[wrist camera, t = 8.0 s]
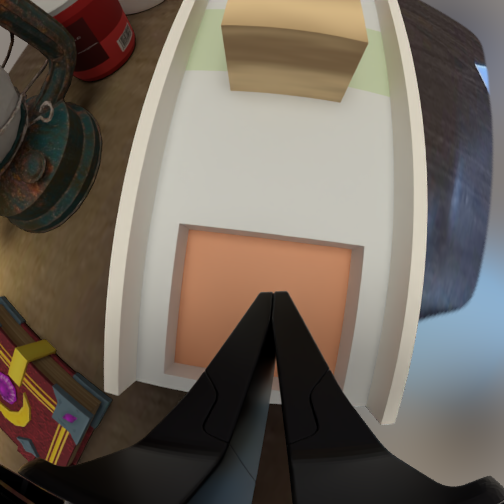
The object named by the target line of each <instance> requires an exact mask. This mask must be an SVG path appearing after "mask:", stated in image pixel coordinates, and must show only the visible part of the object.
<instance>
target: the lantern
mask: <svg viewBox="0 0 504 504" xmlns="http://www.w3.org/2000/svg"><path fill="white" fill-rule="evenodd" d="M0 26H2V27H3V28H5V29H6V30H8V31H10V36H11V43H10V46H9V50H8V53H7V56H6V58H5V60H4V63H3V64H2V67H1V66H0V215H1V216H4V217H7V218H8V219H9V220H10V222H11V223H12V224H14V225H16V226H17V227H19V228H20V229H23V230H25V231H27V232H31V233H43V232H47V231H49V230H52V229H54V228H56V227H58V226H59V225H61V224H63V223H64V222H65V221H66V220H67V219H68V218H69V217H70V216H71V215H72V214H73V213H74V212H75V211H76V210H77V209H78V208H79V207H80V205H81V203H82V202H83V200H84V199H85V197H86V196H87V194H88V193H89V191H90V189H91V186H92V184H93V182H94V180H95V177H96V173H97V170H98V167H99V165H100V157H101V147H102V139H101V134H100V129H99V125H98V123H97V121H96V119H95V118H94V117H93V115H92V114H91V113H90V112H89V111H87V110H86V109H84V108H83V107H80V106H78V105H76V104H73V103H71V102H66V103H65V101H64V97H65V95H66V93H67V91H68V89H69V87H70V85H71V80H72V77H73V73H74V69H75V66H76V59H77V50H76V45H75V39H74V38H73V36H72V35H71V34H70V33H69V32H68V31H67V30H66V28H65V27H64V26H63V25H62V24H61V23H60V22H58V21H57V20H56V19H55V18H53V17H52V16H51V15H49V14H48V13H47V12H45V11H44V10H43V9H41V8H40V7H39V6H37V5H36V4H35V3H33V2H32V1H31V0H0ZM14 35H16V36H18V37H19V38H21V39H22V40H24V41H25V42H27V43H28V44H30V45H31V46H33V47H35V48H36V49H38V50H39V51H40V52H41V53H42V54H43V55H44V56H45V57H46V58H47V60H46V62H45V63H44V65H43V66H42V68H41V69H40V71H39V72H38V73H37V74H36V76H35V77H34V78H33V79H32V81H31V82H30V83H29V85H28V86H27V87H26V88H25V90H24V91H23V92H22V93H21V94H20V93H19V91H18V89H17V87H14V86H13V85H12V82H11V80H10V77H9V74H8V73H7V72H6V71H5V70H4V69H3V68H4V67H5V65H6V63H7V61H8V59H9V56H10V53H11V50H12V46H13V43H14ZM48 61H49V72H48V74H47V76H46V79H45V81H44V83H43V86H42V88H41V91H40V93H39V95H36V96H33V97H31V98H29V99H27V100H26V97H27V95H26V94H25V93H26V92H27V90H28V89H29V88H30V86H31V85H32V84H33V83H34V81H35V80H36V79H37V78H38V76H39V75H40V74H41V73H42V72H43V70H44V69H45V68H46V66H47V63H48ZM22 97H23V99H22Z"/></svg>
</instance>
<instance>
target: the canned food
mask: <svg viewBox="0 0 504 504" xmlns="http://www.w3.org/2000/svg"><path fill="white" fill-rule="evenodd" d="M31 1H32V2H33V3H35V4H36V5H37V6H39V7H40V8H41V9H43V10H44V11H45V12H47V13H48V14H49V15H51V16H52V17H53V18H55V19H56V20H57V21H58V22H60V23H61V24H62V25H63V26H64V27H65V28H66V30H67V31H68V32H69V33H70V34H71V35H72V36H73V38H74V39H75V45H76V50H77V59H76V66H75V69H74V73H73V75H74V76H75V77H77V78H79V79H81V80H84V81H95V80H99V79H102V78H104V77H106V76H108V75H110V74H112V73H113V72H115V71H116V70H117V69H119V68H120V67H121V66H122V65H123V64H124V63H125V62H126V61H127V60H128V58H129V57H130V55H131V54H132V52H133V50H134V46H135V34H134V31H133V29H132V27H131V25H130V23H129V21H128V19H127V17H126V15H125V13H124V11H123V9H122V7H121V5H120V3H119V1H118V0H31Z"/></svg>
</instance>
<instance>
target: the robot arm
mask: <svg viewBox="0 0 504 504" xmlns="http://www.w3.org/2000/svg"><path fill="white" fill-rule="evenodd" d="M275 362H276V364H277V372H278V380H279V388H280V396H281V404H282V413H283V421H284V429H285V438H286V446H287V455H288V464H289V473H290V482H291V491H292V501H293V504H498V503H499V504H504V501H503V500H504V488H503V486H502V485H500V483H498V482H497V481H496V480H495V479H494V478H493V477H492V476H487V477H484V478H481V479H478V480H476V481H473V482H471V483H468V484H465V485H462V486H457V487H450V486H445V485H442V484H440V483H437V482H435V481H434V480H432V479H431V478H429V477H427V476H426V475H424V474H422V473H421V472H419V471H418V470H416V469H414V468H413V467H411V466H410V465H408V464H406V463H405V462H403V461H402V460H400V459H398V458H397V457H396V456H394V455H392V454H391V453H390V452H389V451H388V450H387V449H386V448H385V447H384V446H383V445H382V444H381V443H380V441H379V440H378V439H377V438H376V436H375V435H374V434H373V432H372V431H371V430H370V429H369V427H368V426H367V425H366V423H365V422H364V421H363V419H362V418H361V417H360V415H359V414H358V413H357V411H356V410H355V409H354V407H353V406H352V404H351V403H350V402H349V400H348V399H347V397H346V396H345V394H344V393H343V391H342V389H341V388H340V386H339V384H338V383H337V381H336V379H335V377H334V375H333V373H332V372H331V370H329V366H328V364H327V363H326V361H325V359H324V357H323V355H322V353H321V352H320V350H319V348H318V346H317V344H316V342H315V340H314V339H313V337H312V335H311V333H310V331H309V329H308V328H307V326H306V324H305V322H304V320H303V318H302V317H301V315H300V313H299V311H298V309H297V307H296V306H295V304H294V302H293V300H292V298H291V297H290V295H289V293H288V292H287V291H275V292H274V293H273V292H260V293H259V294H258V296H257V297H256V299H255V300H254V302H253V303H252V304H251V306H250V307H249V309H248V310H247V312H246V313H245V314H244V316H243V317H242V319H241V320H240V322H239V323H238V324H237V326H236V327H235V329H234V330H233V331H232V333H231V334H230V336H229V337H228V339H227V340H226V341H225V343H224V344H223V346H222V347H221V348H220V350H219V351H218V353H217V354H216V355H215V357H214V358H213V359H212V361H211V362H210V364H209V365H208V366H207V368H206V369H205V372H203V373H202V374H201V376H200V377H199V379H198V380H197V381H196V383H195V384H194V385H193V386H192V388H191V389H190V390H189V392H188V393H187V394H186V395H185V396H184V397H183V398H182V400H181V401H180V402H179V403H178V404H177V405H176V406H175V407H174V408H173V409H172V410H171V411H170V412H169V413H168V414H167V415H166V417H165V418H164V419H163V420H162V421H161V422H160V423H159V424H158V425H157V426H156V427H155V428H154V429H153V430H152V431H151V432H150V433H149V434H148V435H147V436H146V437H144V438H143V439H142V440H141V441H139V442H138V443H136V444H134V445H132V446H131V447H128V448H126V449H123V450H120V451H117V452H115V453H112V454H109V455H106V456H103V457H100V458H97V459H94V460H91V461H88V462H85V463H82V464H79V465H74V466H58V465H55V464H53V463H50V462H48V461H46V460H44V459H42V458H36V459H34V460H32V461H30V462H28V463H26V464H24V465H23V466H22V467H21V468H20V469H19V470H18V473H19V474H20V475H22V476H23V477H25V478H26V479H25V478H23V477H22V476H20V475H18V474H17V473H15V472H13V471H11V470H10V469H8V468H6V467H4V466H3V465H1V464H0V504H251V503H252V498H253V493H254V488H255V481H256V477H257V472H258V466H259V461H260V455H261V450H262V444H263V438H264V433H265V427H266V421H267V415H268V409H269V402H270V396H271V390H272V383H273V377H274V370H275ZM27 479H28V480H27ZM29 480H30V481H31V482H30V481H29ZM32 482H33V483H32ZM34 483H35V484H34ZM37 485H38V486H37ZM39 486H40V487H39ZM44 489H45V490H44ZM46 490H47V491H46ZM55 495H56V496H55ZM57 496H58V497H57ZM59 497H60V498H59ZM61 498H62V499H61ZM63 499H64V500H63ZM502 501H503V502H502ZM500 502H501V503H500Z"/></svg>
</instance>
